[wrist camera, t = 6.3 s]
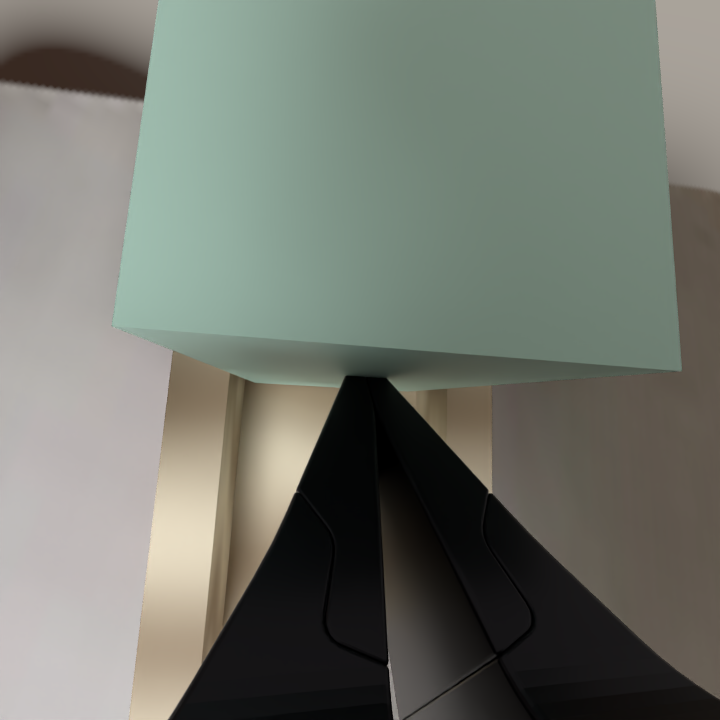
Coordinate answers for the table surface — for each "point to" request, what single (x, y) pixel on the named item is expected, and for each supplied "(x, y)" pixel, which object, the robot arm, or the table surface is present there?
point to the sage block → (404, 192)
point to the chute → (242, 503)
